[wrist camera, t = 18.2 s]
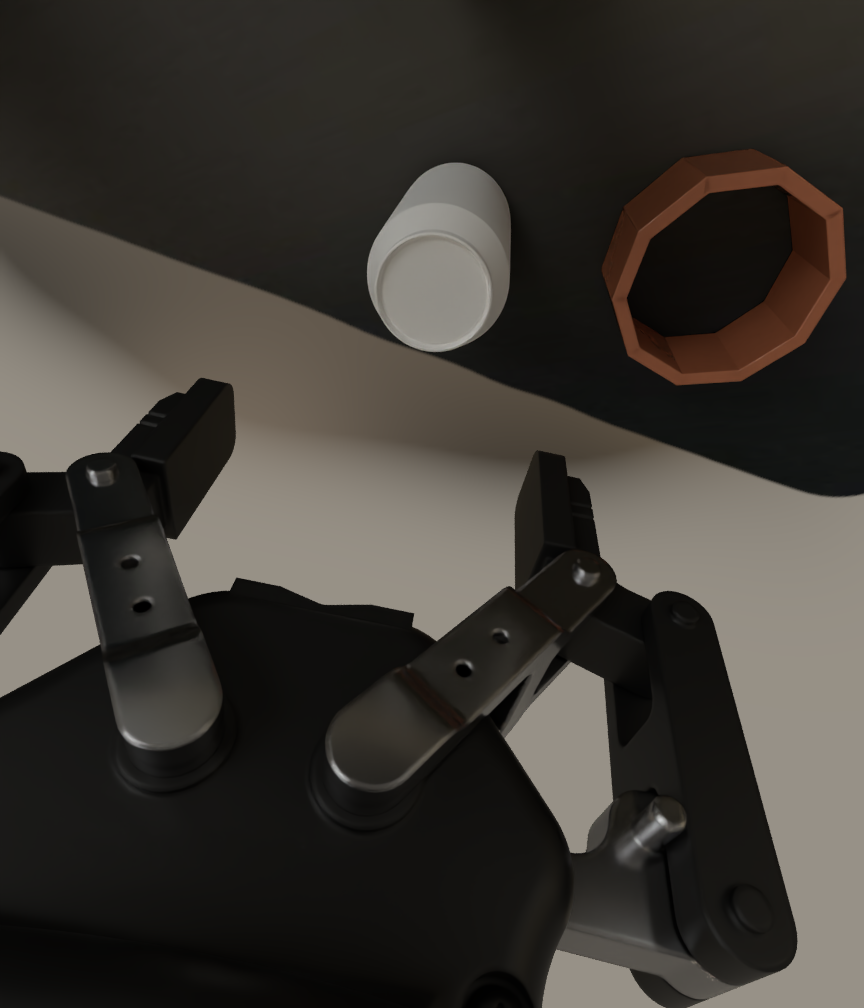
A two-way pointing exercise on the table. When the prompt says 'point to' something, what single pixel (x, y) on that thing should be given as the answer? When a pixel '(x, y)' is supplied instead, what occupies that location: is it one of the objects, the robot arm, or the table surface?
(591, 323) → the table surface
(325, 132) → the table surface
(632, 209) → the holder
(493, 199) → the beverage can
